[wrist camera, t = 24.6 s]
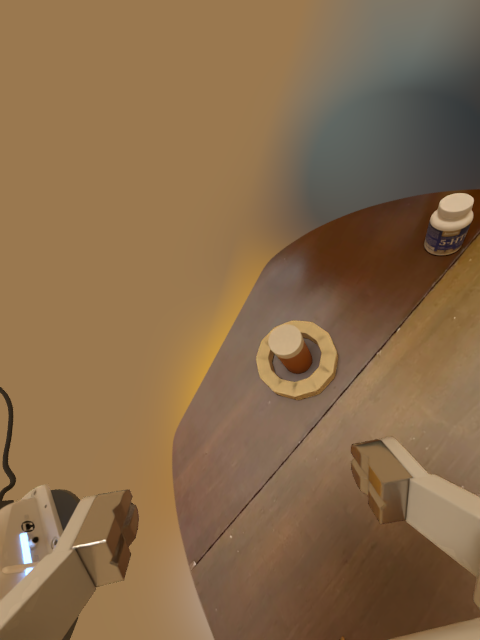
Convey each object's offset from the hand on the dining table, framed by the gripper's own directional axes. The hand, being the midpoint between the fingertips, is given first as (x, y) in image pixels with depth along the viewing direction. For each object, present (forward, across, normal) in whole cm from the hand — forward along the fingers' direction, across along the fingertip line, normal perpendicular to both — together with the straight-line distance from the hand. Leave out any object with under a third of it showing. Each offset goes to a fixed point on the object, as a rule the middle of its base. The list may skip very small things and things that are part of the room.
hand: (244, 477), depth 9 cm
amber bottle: (+32, -12, +14) cm, 37 cm away
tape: (+32, -11, +14) cm, 37 cm away
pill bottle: (+35, -40, -2) cm, 53 cm away
